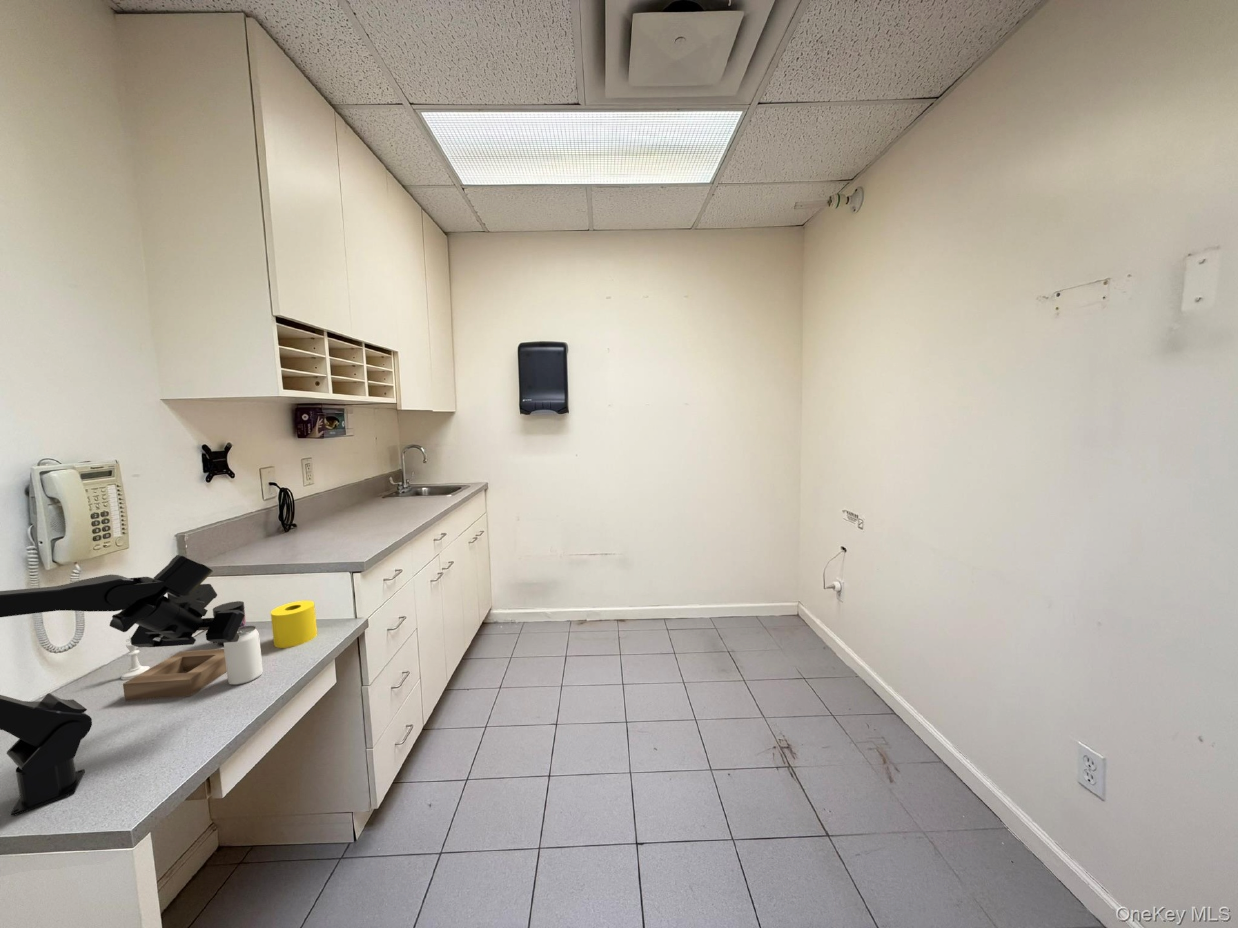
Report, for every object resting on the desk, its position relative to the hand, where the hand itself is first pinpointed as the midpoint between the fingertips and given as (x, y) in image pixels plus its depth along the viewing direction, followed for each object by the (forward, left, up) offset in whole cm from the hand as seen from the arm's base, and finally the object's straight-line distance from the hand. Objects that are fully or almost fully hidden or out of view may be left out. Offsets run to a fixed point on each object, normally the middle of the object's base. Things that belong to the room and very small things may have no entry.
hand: (216, 640), depth 97 cm
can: (+6, -4, -13) cm, 15 cm away
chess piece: (+28, +17, -13) cm, 35 cm away
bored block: (+15, +7, -13) cm, 21 cm away
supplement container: (+34, -1, -13) cm, 36 cm away
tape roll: (+22, -15, -13) cm, 30 cm away
